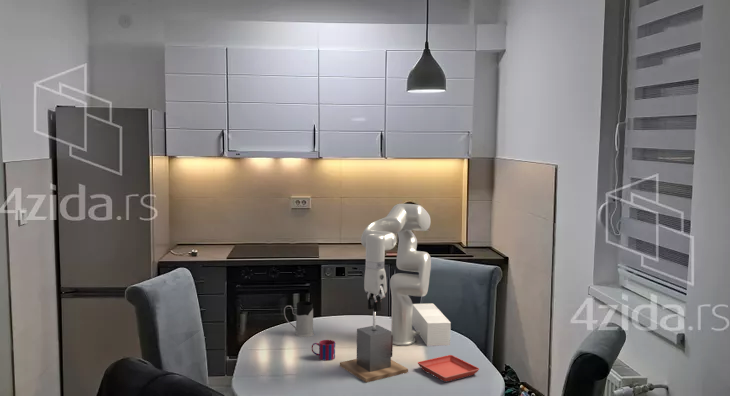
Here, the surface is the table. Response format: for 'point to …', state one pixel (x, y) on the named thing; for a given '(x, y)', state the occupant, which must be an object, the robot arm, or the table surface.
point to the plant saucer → (448, 368)
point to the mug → (326, 350)
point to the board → (374, 375)
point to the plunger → (373, 312)
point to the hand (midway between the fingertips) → (374, 309)
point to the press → (374, 348)
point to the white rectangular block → (431, 324)
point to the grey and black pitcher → (303, 319)
